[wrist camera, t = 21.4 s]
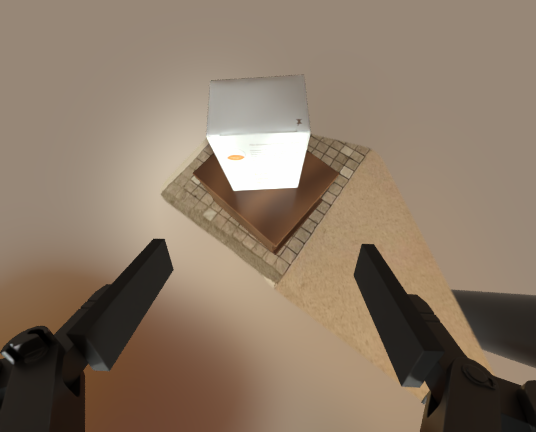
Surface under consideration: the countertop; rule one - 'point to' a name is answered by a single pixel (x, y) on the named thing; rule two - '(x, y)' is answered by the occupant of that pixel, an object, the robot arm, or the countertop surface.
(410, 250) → the countertop surface
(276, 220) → the chest
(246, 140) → the small box
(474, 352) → the countertop surface
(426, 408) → the robot arm
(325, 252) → the countertop surface
